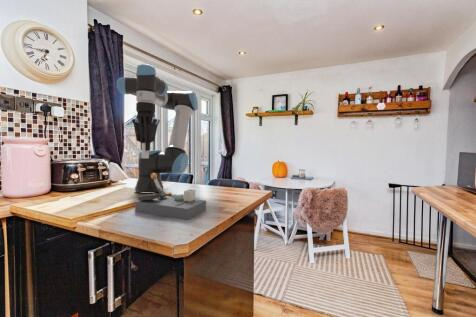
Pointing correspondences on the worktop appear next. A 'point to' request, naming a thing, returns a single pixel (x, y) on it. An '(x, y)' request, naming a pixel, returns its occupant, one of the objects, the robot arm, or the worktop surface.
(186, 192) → the slider
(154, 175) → the lever
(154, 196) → the rocker
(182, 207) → the grey rectangular base
